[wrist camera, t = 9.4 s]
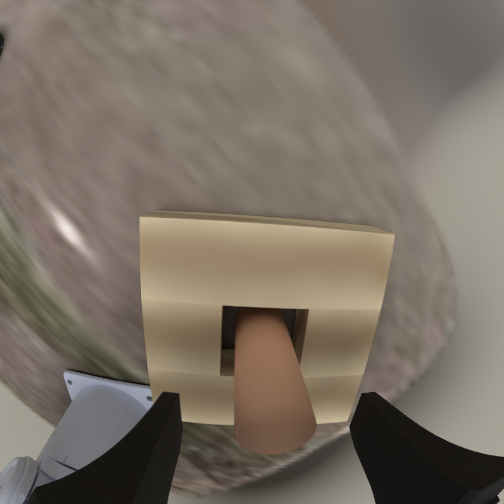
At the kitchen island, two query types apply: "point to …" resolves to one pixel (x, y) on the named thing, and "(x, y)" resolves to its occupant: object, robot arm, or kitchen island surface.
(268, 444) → the peg
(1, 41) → the chess piece
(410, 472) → the robot arm
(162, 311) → the socket block
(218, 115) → the kitchen island surface
